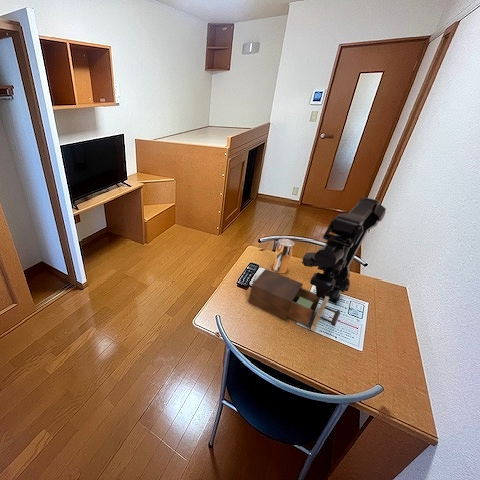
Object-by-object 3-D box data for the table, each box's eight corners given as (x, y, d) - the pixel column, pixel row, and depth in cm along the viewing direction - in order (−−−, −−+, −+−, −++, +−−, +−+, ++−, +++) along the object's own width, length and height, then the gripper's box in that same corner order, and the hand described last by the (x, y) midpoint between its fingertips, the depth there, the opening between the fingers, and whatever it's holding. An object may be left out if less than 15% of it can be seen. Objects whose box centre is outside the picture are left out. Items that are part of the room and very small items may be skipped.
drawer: (337, 319, 95) (344, 303, 91) (329, 339, 87) (336, 323, 83) (286, 296, 105) (290, 281, 101) (275, 312, 98) (279, 297, 94)
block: (297, 305, 100) (300, 296, 97) (309, 310, 97) (313, 302, 95) (293, 311, 97) (296, 303, 95) (306, 317, 94) (309, 309, 92)
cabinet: (297, 302, 104) (303, 283, 99) (285, 320, 96) (291, 301, 91) (261, 286, 112) (265, 268, 107) (248, 302, 104) (251, 284, 100)
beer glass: (289, 274, 118) (296, 247, 111) (272, 273, 120) (279, 245, 112) (285, 265, 124) (293, 238, 116) (270, 264, 125) (276, 237, 118)
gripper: (317, 234, 94) (306, 268, 102) (299, 257, 82) (288, 293, 91) (353, 244, 87) (339, 280, 95) (339, 271, 76) (323, 309, 84)
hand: (322, 289), depth 91 cm, fingers open, 9 cm apart
